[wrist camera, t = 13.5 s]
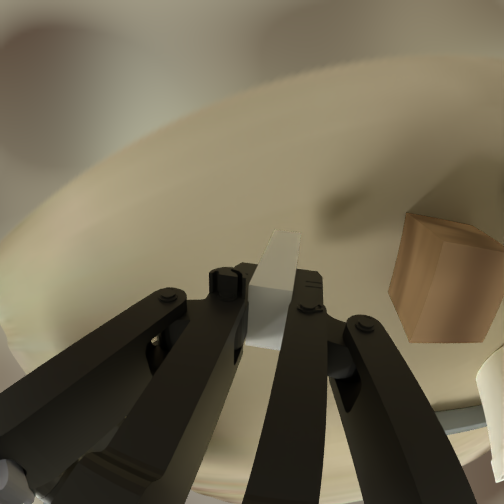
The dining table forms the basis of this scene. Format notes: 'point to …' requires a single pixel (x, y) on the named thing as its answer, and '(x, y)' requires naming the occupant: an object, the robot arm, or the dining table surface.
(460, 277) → the walnut block
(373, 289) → the dining table surface
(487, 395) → the foam cup
